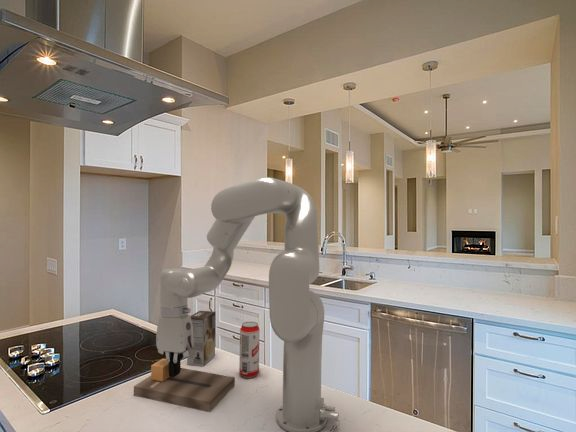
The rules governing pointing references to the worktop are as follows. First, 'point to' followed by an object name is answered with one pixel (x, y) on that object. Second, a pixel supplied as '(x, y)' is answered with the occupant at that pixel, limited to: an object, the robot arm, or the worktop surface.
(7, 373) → the worktop surface
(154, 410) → the worktop surface
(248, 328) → the beer can
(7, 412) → the worktop surface
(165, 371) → the block
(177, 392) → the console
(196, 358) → the coffee box
